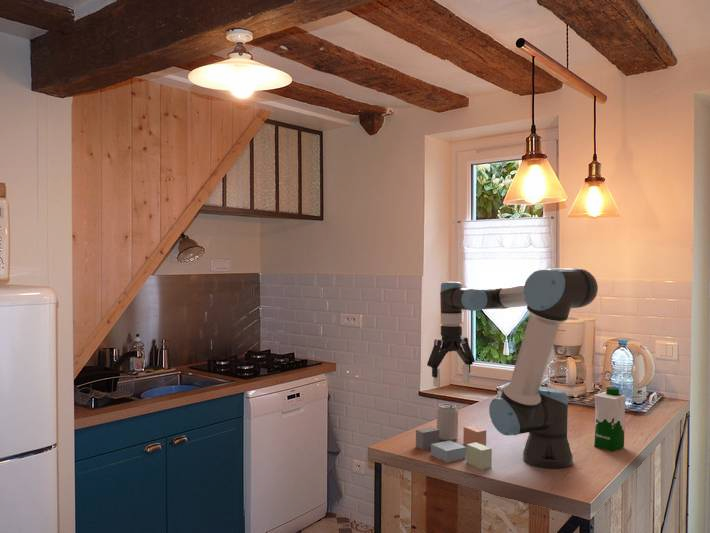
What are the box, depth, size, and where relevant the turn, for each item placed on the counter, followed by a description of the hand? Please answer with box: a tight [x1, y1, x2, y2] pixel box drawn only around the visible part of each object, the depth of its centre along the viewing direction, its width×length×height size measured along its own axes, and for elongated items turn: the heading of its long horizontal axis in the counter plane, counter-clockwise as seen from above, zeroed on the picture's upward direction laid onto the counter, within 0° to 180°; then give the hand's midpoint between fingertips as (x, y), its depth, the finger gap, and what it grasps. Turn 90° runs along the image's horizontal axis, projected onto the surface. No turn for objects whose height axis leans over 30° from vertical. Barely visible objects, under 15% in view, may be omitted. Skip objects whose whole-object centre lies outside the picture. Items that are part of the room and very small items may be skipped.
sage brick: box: [465, 442, 493, 471], centre depth 188 cm, size 7×4×6 cm, turn 31°
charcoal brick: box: [415, 426, 440, 451], centre depth 205 cm, size 7×4×6 cm, turn 121°
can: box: [436, 403, 459, 442], centre depth 215 cm, size 8×8×12 cm
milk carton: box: [593, 386, 627, 453], centre depth 206 cm, size 9×9×20 cm
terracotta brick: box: [462, 425, 487, 446], centre depth 207 cm, size 7×4×6 cm, turn 31°
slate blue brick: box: [430, 440, 467, 463], centre depth 196 cm, size 8×8×4 cm
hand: (451, 384), depth 215 cm, fingers open, 13 cm apart
